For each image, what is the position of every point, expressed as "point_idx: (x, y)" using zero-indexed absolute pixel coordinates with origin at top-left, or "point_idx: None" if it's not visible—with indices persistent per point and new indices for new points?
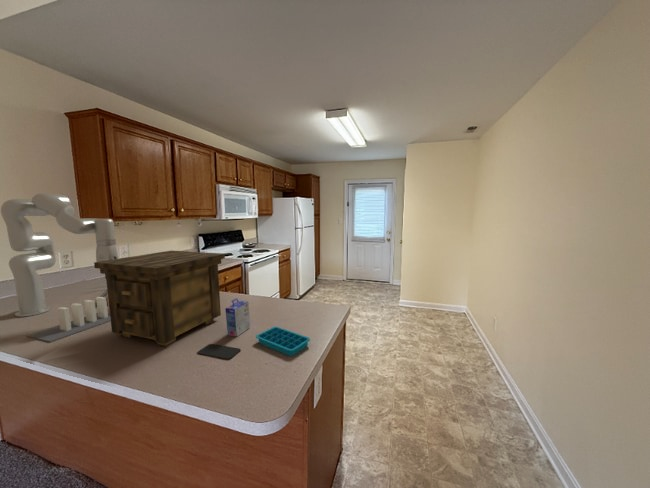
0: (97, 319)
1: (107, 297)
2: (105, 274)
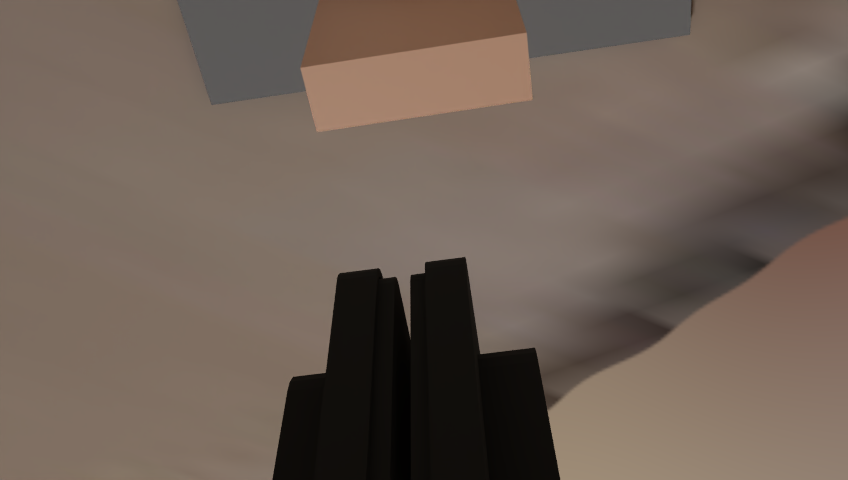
0: None
1: (500, 12)
2: (444, 390)
